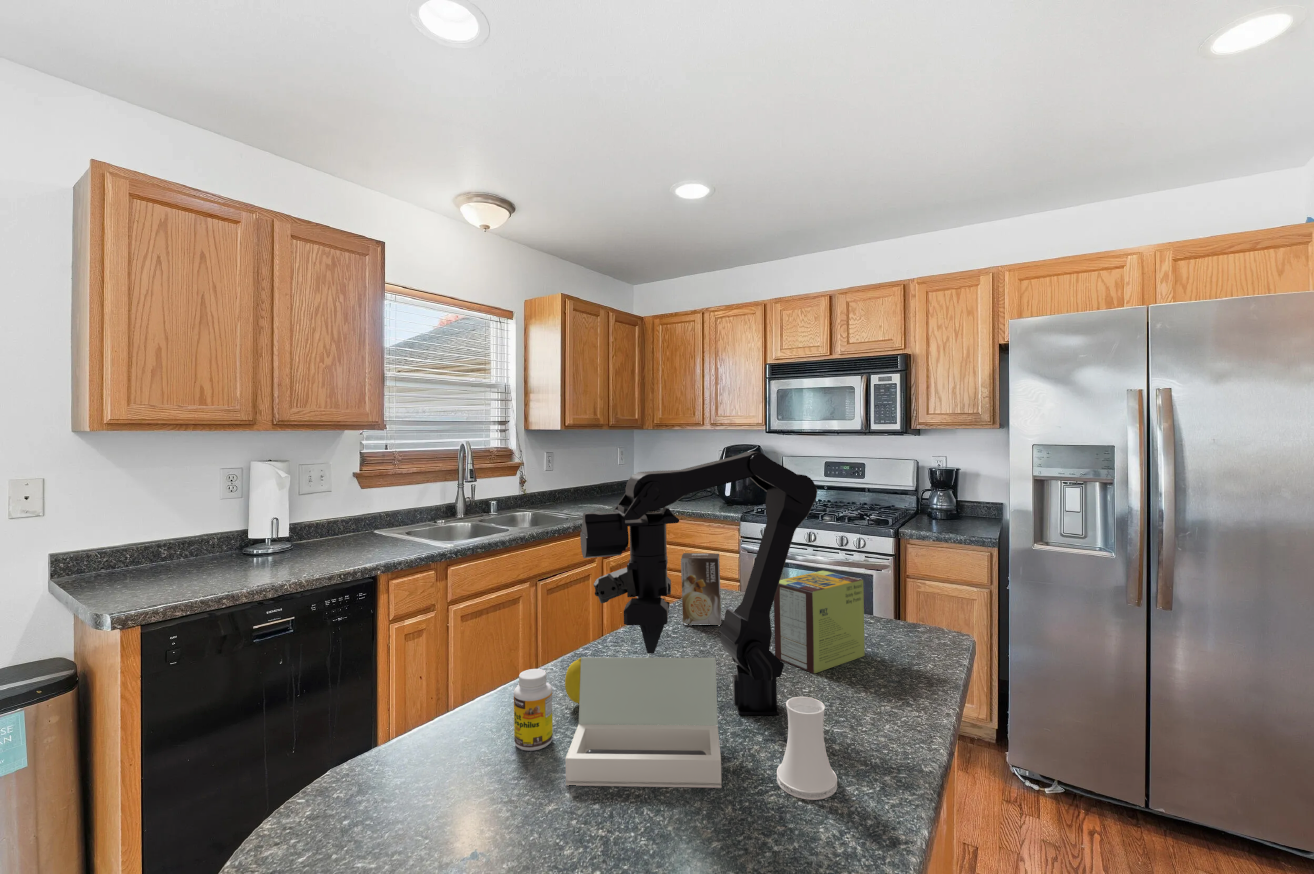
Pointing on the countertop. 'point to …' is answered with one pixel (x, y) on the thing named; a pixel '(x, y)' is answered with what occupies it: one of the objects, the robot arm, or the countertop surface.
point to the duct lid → (648, 691)
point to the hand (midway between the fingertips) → (650, 652)
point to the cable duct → (644, 756)
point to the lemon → (573, 681)
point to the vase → (806, 752)
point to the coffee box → (701, 588)
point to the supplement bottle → (533, 711)
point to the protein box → (819, 620)
